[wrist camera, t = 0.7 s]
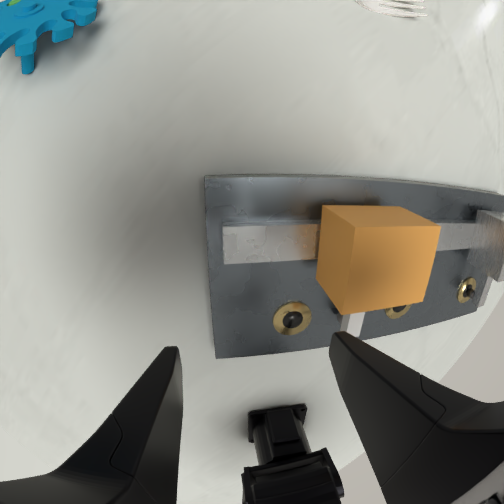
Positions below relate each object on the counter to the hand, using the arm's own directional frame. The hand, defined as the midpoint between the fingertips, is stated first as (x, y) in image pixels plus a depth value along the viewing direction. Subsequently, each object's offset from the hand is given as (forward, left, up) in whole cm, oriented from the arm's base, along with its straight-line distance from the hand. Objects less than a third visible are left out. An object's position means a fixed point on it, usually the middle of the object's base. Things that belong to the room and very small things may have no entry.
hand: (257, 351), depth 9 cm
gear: (+17, +14, -12) cm, 25 cm away
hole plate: (-3, -13, -12) cm, 18 cm away
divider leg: (-2, -8, -10) cm, 13 cm away
